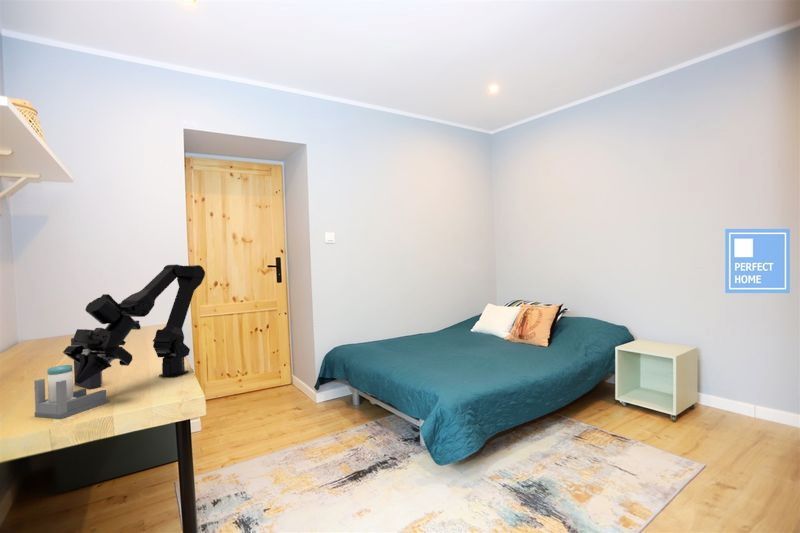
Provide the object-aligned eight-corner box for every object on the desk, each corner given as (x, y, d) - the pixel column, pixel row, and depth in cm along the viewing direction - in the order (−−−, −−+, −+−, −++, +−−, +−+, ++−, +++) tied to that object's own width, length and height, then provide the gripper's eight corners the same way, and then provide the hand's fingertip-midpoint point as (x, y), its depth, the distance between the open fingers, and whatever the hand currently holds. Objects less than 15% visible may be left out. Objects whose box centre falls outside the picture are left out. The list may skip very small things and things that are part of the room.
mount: (84, 400, 110) (83, 367, 110) (109, 401, 107) (108, 369, 107) (34, 416, 98) (33, 380, 98) (61, 418, 96) (60, 381, 96)
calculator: (104, 386, 123) (102, 338, 123) (87, 390, 119) (86, 340, 119) (88, 381, 128) (86, 335, 128) (72, 385, 125) (70, 338, 125)
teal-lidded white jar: (64, 404, 103) (62, 364, 103) (78, 405, 102) (77, 365, 101) (43, 411, 98) (42, 369, 98) (58, 412, 97) (57, 370, 97)
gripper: (69, 316, 111) (24, 366, 100) (121, 317, 106) (80, 368, 96) (97, 339, 119) (59, 387, 108) (147, 340, 114) (112, 390, 103)
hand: (76, 383), depth 104 cm, fingers closed
